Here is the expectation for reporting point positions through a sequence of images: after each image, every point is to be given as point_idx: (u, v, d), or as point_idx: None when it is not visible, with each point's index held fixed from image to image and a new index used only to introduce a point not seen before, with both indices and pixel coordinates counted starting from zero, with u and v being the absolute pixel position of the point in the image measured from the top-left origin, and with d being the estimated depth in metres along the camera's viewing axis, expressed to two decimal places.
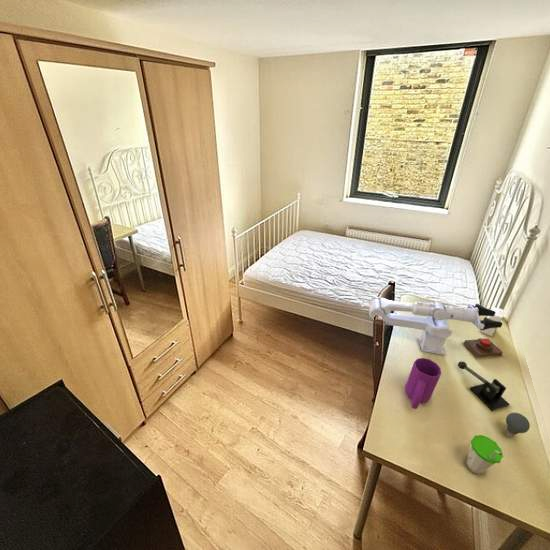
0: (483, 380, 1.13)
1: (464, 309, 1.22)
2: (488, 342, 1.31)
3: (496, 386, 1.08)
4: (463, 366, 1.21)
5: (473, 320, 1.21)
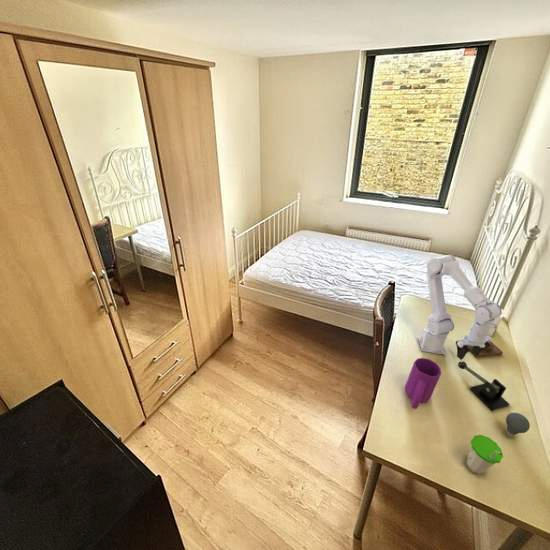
0: (483, 380, 1.13)
1: (484, 336, 1.10)
2: (488, 342, 1.31)
3: (496, 386, 1.08)
4: (463, 366, 1.21)
5: (468, 338, 1.14)
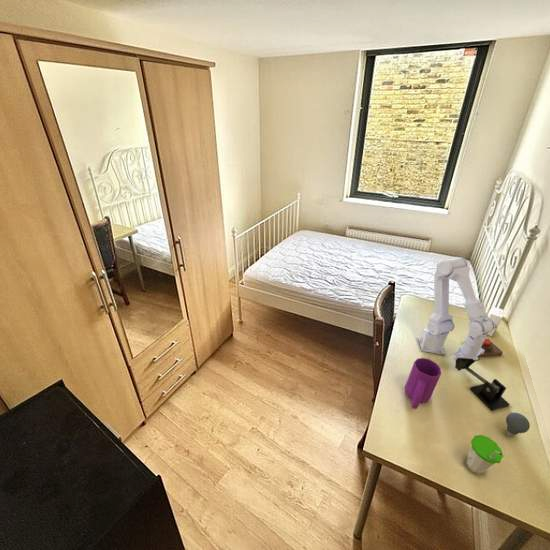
0: (483, 380, 1.13)
1: (477, 349, 1.14)
2: (488, 342, 1.31)
3: (496, 386, 1.08)
4: (463, 366, 1.21)
5: (462, 351, 1.18)
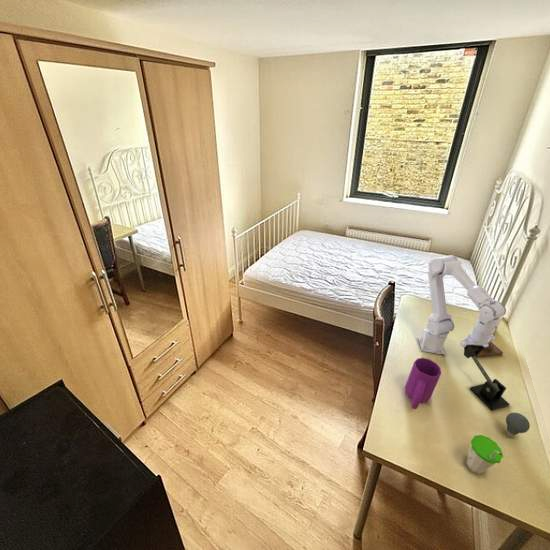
0: (486, 377, 1.11)
1: (487, 335, 1.09)
2: (488, 342, 1.31)
3: (497, 388, 1.08)
4: (471, 355, 1.16)
5: (472, 338, 1.13)
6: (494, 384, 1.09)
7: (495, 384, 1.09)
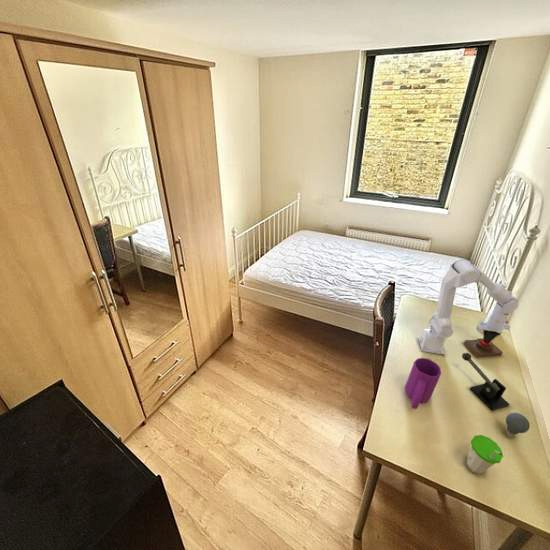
0: (485, 378, 1.12)
1: (501, 322, 1.23)
2: None
3: (497, 387, 1.08)
4: (467, 358, 1.18)
5: (487, 324, 1.27)
6: (493, 384, 1.09)
7: (494, 384, 1.09)
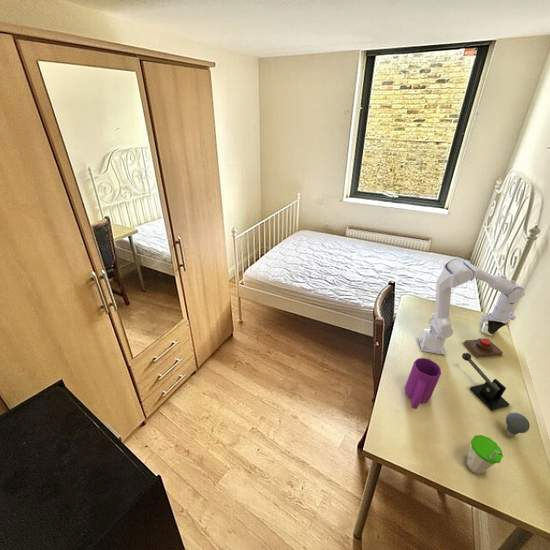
0: (485, 378, 1.12)
1: (507, 312, 1.20)
2: (488, 342, 1.31)
3: (497, 387, 1.08)
4: (467, 358, 1.18)
5: (492, 315, 1.24)
6: (493, 384, 1.09)
7: (494, 384, 1.09)
